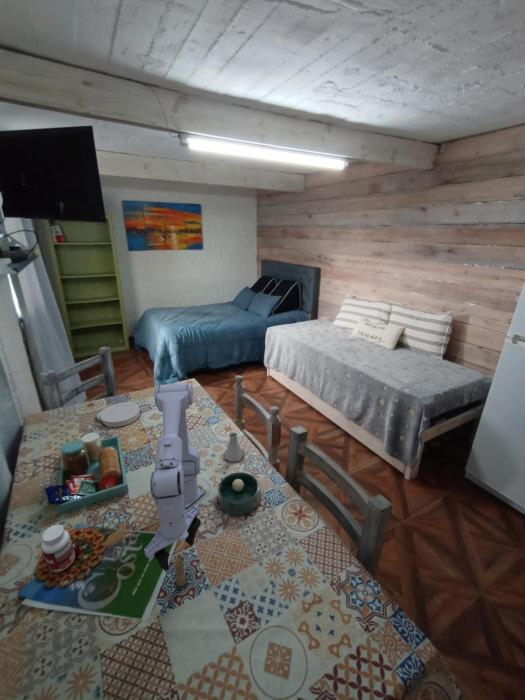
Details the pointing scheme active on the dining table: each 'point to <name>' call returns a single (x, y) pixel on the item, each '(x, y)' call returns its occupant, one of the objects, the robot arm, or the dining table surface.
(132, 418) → the lid
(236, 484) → the ball
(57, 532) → the pill bottle
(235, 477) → the bowl
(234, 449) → the flask
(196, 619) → the dining table surface
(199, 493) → the robot arm
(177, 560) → the stick
